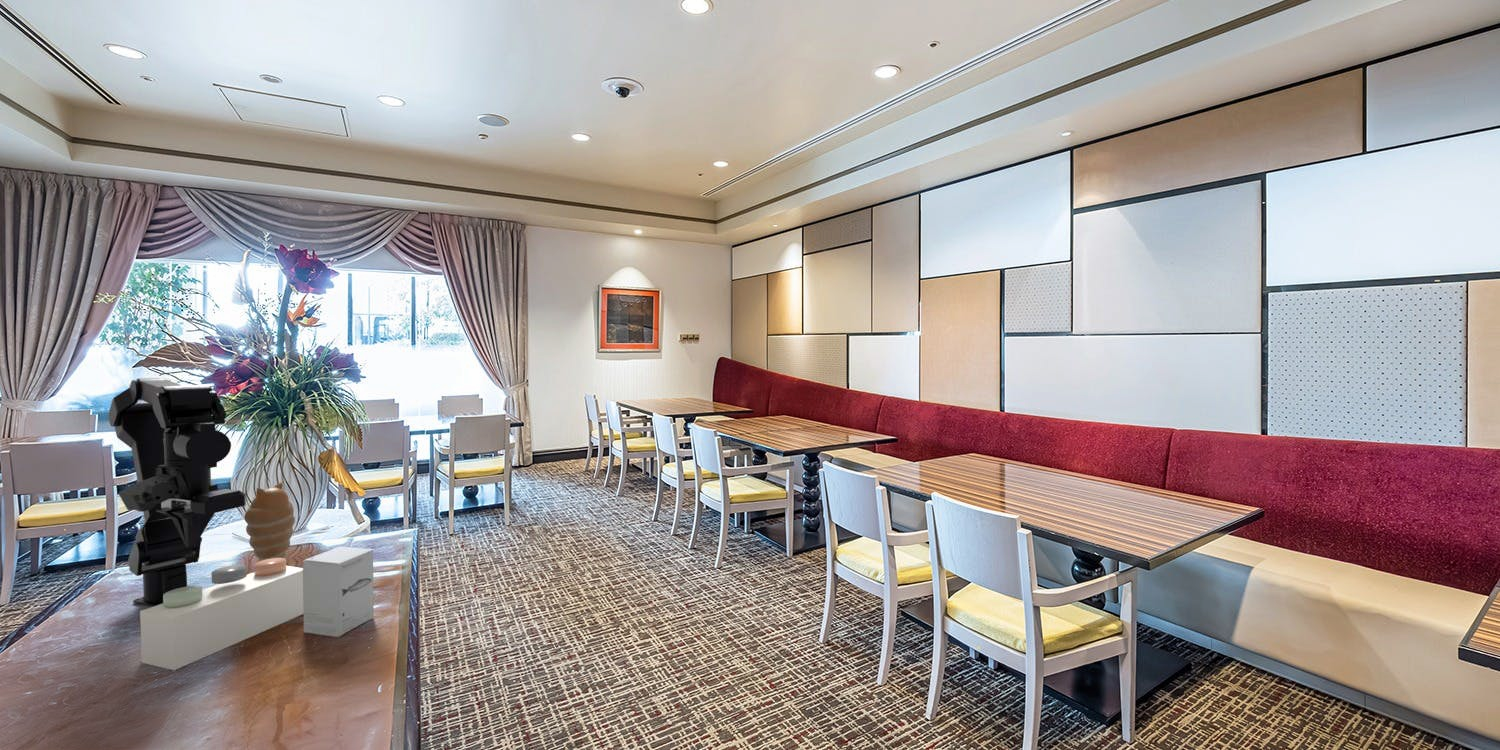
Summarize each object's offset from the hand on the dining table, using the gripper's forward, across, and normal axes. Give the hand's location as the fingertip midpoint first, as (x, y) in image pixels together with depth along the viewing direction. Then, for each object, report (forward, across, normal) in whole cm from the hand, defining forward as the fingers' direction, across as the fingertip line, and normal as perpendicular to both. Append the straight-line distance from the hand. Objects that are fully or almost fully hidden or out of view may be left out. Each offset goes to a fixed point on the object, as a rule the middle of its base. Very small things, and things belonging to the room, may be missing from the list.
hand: (190, 546), depth 103 cm
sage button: (+5, +12, -8) cm, 15 cm away
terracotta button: (+5, +12, +5) cm, 13 cm away
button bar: (+13, +12, -2) cm, 18 cm away
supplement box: (+13, +26, +6) cm, 30 cm away
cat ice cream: (+13, -11, +21) cm, 27 cm away
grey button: (+4, +11, -1) cm, 12 cm away
